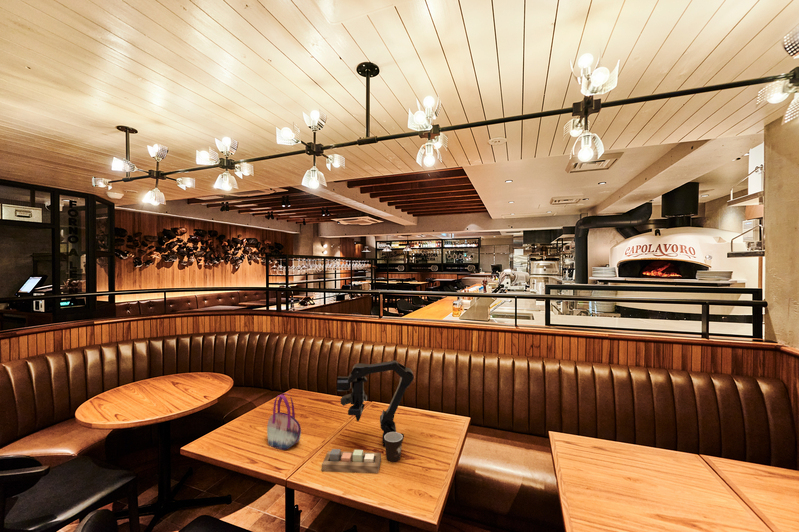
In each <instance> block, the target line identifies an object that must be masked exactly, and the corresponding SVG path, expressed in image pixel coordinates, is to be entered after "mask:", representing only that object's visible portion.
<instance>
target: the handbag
mask: <svg viewBox="0 0 799 532" xmlns="http://www.w3.org/2000/svg"><path fill="white" fill-rule="evenodd" d="M286 395H288V396H289V397H290V403H291V406H290V403H289V400H288V398H287V397H286ZM277 400H278V401H277ZM282 400H283V402H284V405H285V406H286V410H287V413H286V412H283V411H282V412H281V403H282ZM276 407H277V410H276ZM272 409H273V411H272V414H271V415H270V416H269V418H268V421H267V426H266V433H267V436H266V437H267V444H268V446H269V447H271V448H274V449H278V450H281V451H287V450H288V449H290V448H291V447H292V446H294V445H296V444H297V443H298V442H300V439H301V435H302V428H301V424H300V423H299V421H298V420H297V419H296V416H295V415H296V413H295V406H294V401H293V398H292V396H290V394H289V393H285V392H283V393H281V394H279V395H277V396H276V398H275V399H274V401H273V408H272ZM276 411H277V412H276Z"/></svg>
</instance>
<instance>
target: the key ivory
mask: <svg viewBox="0 0 799 532" xmlns="http://www.w3.org/2000/svg"><path fill="white" fill-rule="evenodd" d="M364 462H365V463H375V462H374V454H365V458H364Z"/></svg>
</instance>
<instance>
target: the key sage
mask: <svg viewBox="0 0 799 532" xmlns="http://www.w3.org/2000/svg"><path fill="white" fill-rule="evenodd" d="M352 452H353V462H362V461H363V452H364V450H363V449H353V451H352Z"/></svg>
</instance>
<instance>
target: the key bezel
mask: <svg viewBox="0 0 799 532" xmlns="http://www.w3.org/2000/svg"><path fill="white" fill-rule="evenodd" d="M330 452H331V450H328V451H327V453H326V455H325V457H324V459H323V461H322V463H321V472H332V473H333V472H335V473H355V472H356V473H361V474H379V472H380V466H381V461H382V452H369V451H368V452H364V451H363V461H362V462H341V458H340V461H330ZM353 452H354V451H341V457H342V455H343V453H352V461H353ZM365 454H374V463H365V462H364V458H365Z"/></svg>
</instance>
